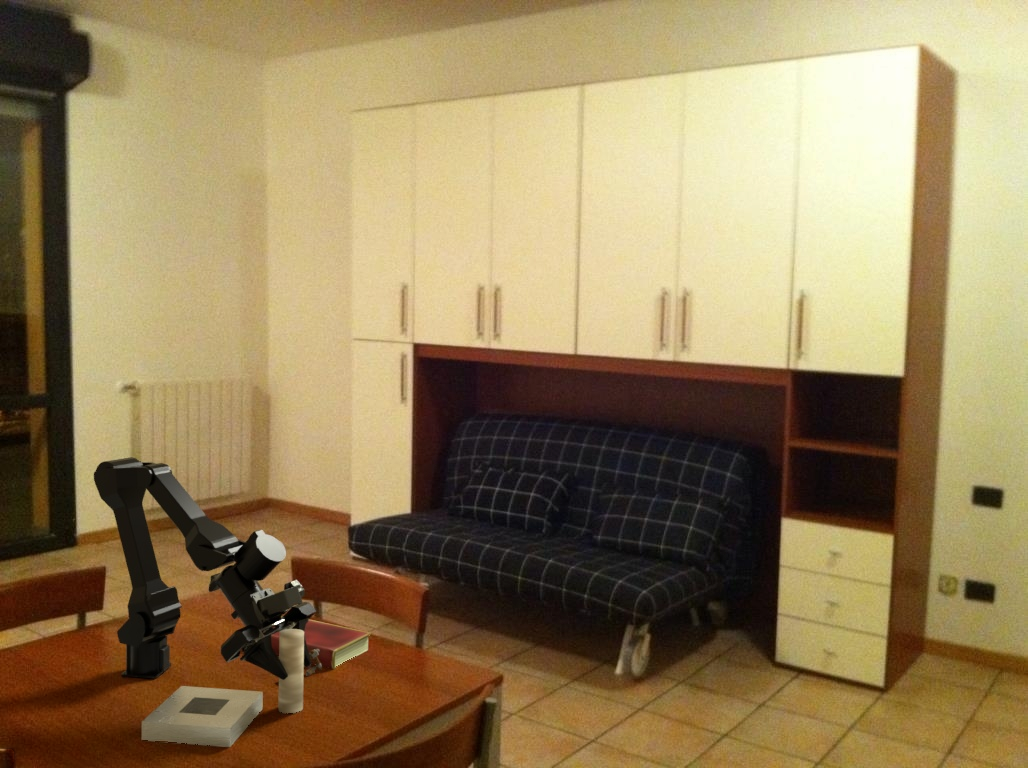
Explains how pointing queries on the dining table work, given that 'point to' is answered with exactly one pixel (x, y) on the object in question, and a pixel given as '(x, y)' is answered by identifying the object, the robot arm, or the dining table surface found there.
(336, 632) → the hardcover book
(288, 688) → the ball
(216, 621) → the dining table surface
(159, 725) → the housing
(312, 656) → the wooden post with brackets
